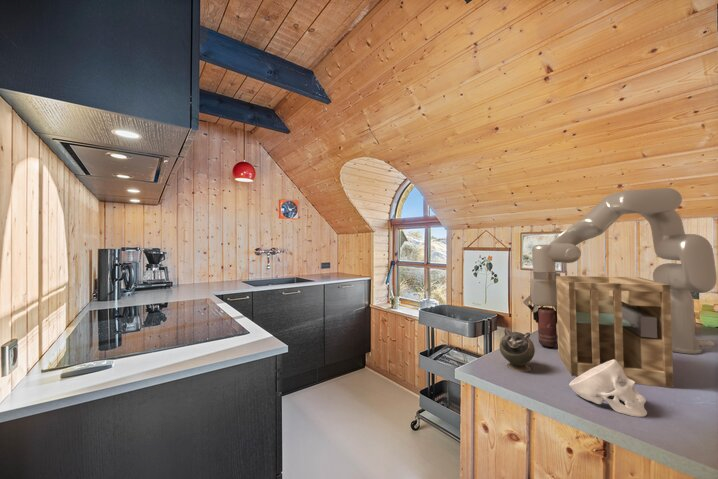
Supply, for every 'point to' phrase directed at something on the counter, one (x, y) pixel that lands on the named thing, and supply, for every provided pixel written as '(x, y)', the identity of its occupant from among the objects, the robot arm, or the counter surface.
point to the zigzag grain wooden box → (615, 327)
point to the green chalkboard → (626, 321)
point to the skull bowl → (610, 388)
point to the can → (547, 326)
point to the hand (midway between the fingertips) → (546, 322)
